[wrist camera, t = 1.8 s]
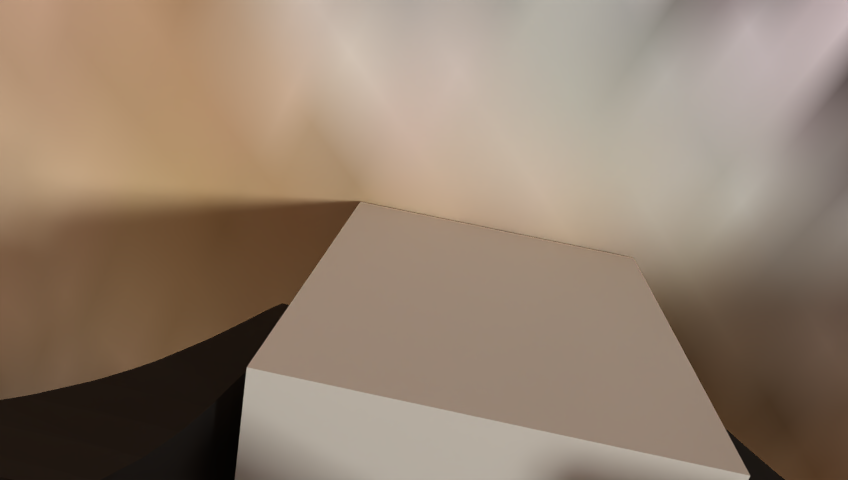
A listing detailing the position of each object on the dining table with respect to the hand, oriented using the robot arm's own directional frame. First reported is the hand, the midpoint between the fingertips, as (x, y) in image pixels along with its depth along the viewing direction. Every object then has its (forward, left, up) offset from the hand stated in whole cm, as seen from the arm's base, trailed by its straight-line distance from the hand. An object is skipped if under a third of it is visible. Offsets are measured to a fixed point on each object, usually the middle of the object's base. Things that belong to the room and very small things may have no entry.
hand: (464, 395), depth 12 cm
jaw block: (0, 0, -2) cm, 2 cm away
